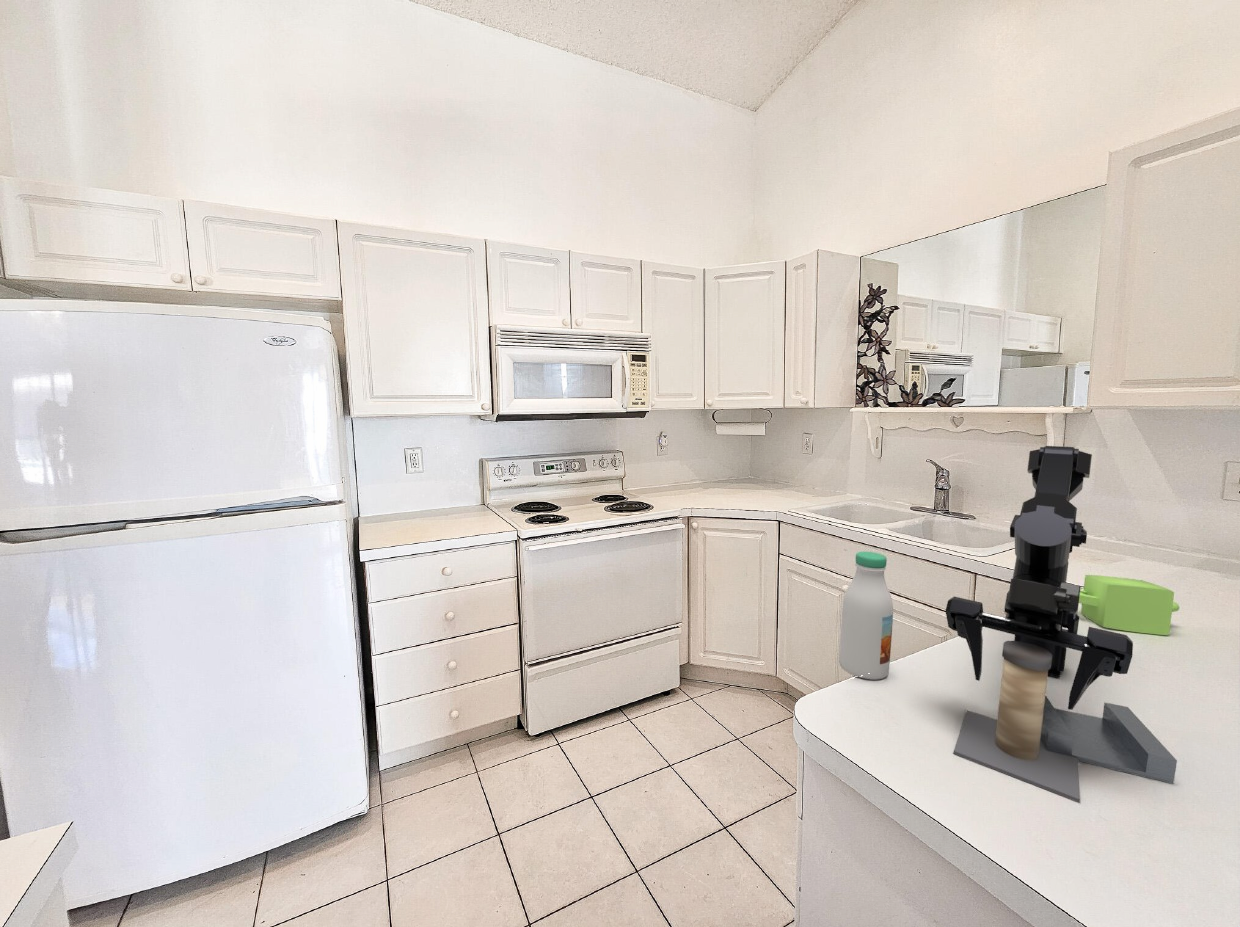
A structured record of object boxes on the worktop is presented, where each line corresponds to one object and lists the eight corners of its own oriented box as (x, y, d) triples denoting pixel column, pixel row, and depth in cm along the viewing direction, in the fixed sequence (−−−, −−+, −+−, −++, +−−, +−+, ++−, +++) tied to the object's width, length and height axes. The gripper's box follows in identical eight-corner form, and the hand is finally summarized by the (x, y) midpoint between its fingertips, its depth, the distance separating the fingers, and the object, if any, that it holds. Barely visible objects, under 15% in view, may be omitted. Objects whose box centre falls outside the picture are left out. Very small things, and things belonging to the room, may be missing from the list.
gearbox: (1160, 622, 108) (1166, 579, 108) (1197, 640, 99) (1204, 593, 98) (1059, 610, 113) (1064, 568, 113) (1085, 626, 104) (1091, 581, 103)
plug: (986, 743, 66) (996, 646, 64) (1003, 731, 68) (1013, 637, 67) (1030, 766, 62) (1042, 662, 60) (1047, 753, 64) (1058, 653, 63)
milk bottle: (865, 685, 81) (874, 563, 78) (828, 662, 88) (835, 550, 85) (899, 675, 84) (908, 558, 82) (860, 654, 91) (868, 546, 89)
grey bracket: (1019, 704, 76) (1021, 685, 75) (1125, 726, 71) (1127, 706, 70) (1046, 753, 65) (1048, 731, 65) (1173, 783, 60) (1176, 760, 60)
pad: (953, 753, 65) (953, 750, 65) (966, 712, 74) (966, 709, 74) (1079, 802, 57) (1079, 799, 57) (1077, 749, 66) (1077, 746, 66)
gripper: (954, 541, 72) (929, 640, 65) (1141, 571, 59) (1135, 698, 52) (959, 581, 78) (938, 675, 71) (1129, 616, 66) (1123, 734, 59)
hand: (1021, 692), depth 63 cm, fingers open, 9 cm apart
